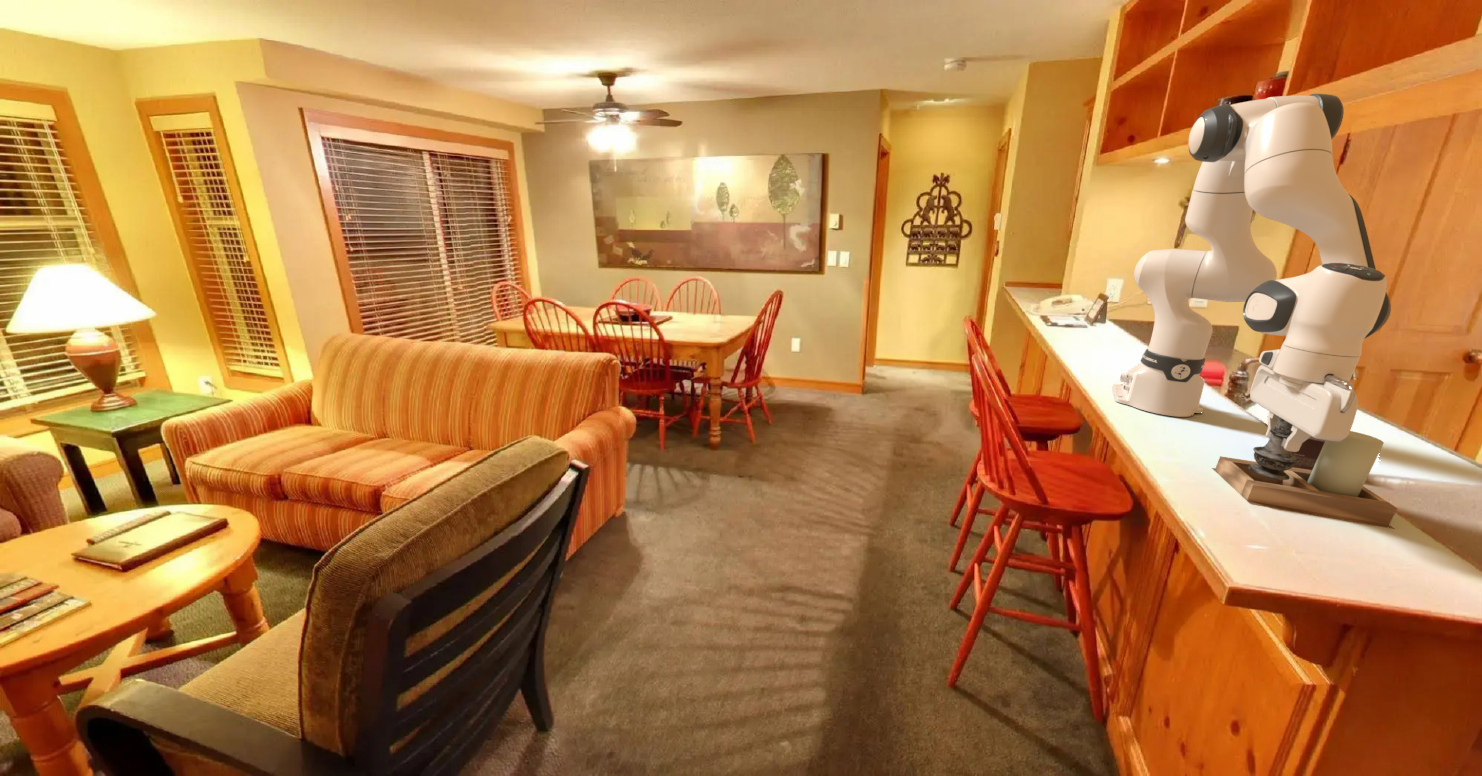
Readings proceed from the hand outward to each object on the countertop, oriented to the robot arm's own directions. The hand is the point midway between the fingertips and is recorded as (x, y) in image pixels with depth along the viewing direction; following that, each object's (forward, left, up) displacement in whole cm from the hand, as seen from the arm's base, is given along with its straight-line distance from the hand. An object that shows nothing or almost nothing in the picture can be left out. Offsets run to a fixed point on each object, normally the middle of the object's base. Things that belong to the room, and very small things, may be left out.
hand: (1280, 444), depth 91 cm
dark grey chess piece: (0, 0, -6) cm, 6 cm away
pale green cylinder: (0, +9, -9) cm, 13 cm away
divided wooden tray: (0, +5, -10) cm, 11 cm away
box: (-17, +14, -10) cm, 24 cm away
